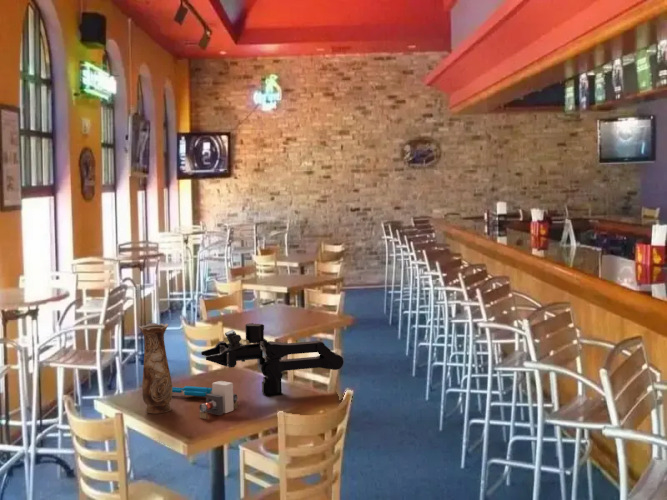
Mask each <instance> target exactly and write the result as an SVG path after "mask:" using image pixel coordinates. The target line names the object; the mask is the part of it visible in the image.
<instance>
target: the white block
mask: <svg viewBox="0 0 667 500" xmlns="http://www.w3.org/2000/svg"><path fill="white" fill-rule="evenodd" d="M211 388H212V394H214V395H219V396H222V400H223V414H227V413H230V412H232V411H234V409H233V394H234V383H233V382H231V381H224V380H218V381H214V382H211ZM212 401H213V400H212ZM215 409H217V408H215Z"/></svg>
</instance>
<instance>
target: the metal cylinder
mask: <svg viewBox="0 0 667 500" xmlns="http://www.w3.org/2000/svg"><path fill="white" fill-rule="evenodd" d="M238 403H239V402H238V395H237V393H233V410H236V409H238V408H239V404H238ZM215 408H217V404H216V400H213V401H210V402H208V403H206V402H205V403H201V404H200V405H199V412H198V413H199V417H198V418H199V419H203V420H208V419H209V418H208V417H209V416H208V414H209V413H208V412H206V411H207V410H210V409H211V410H212V409H215Z"/></svg>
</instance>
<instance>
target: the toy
mask: <svg viewBox="0 0 667 500" xmlns="http://www.w3.org/2000/svg"><path fill="white" fill-rule="evenodd" d="M172 393H177V394H182V395H183V396H191V397H202V398H203V397H204V398H206V394H212V387H205V386H204V387H203V386H193V385H185V386H184V387H174V386H172Z"/></svg>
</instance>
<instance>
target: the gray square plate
mask: <svg viewBox="0 0 667 500" xmlns="http://www.w3.org/2000/svg"><path fill="white" fill-rule="evenodd" d="M212 400H216V404H217V409H212V410H211V409H210V410H207V411H206V412H208V414H210V415H211V414H212V415H214V416H215V415H216V416H222V415H223V414H224V413H223V400H222V396H219V395H214V394H206V397H205V404H206V403H208V402H210V401H212Z"/></svg>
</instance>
